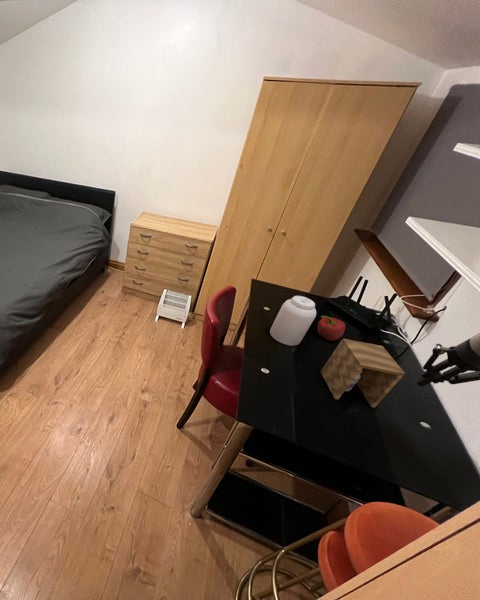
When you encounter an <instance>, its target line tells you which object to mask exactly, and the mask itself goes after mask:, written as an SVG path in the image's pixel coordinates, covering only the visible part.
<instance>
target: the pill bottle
mask: <svg viewBox="0 0 480 600" xmlns="http://www.w3.org/2000/svg"><path fill="white" fill-rule="evenodd" d="M361 373H362V369H361V371H360V372H359V373H358V375H357V376H356V377H355V379H354V380H353V381H352V382H351V384H350V385H349V386H348V388H347V389H346V390H345V391H344V392H350V391H351V390H353V388H354V387H355V385H357V382H358V380H359V379H360V377H361V376H360V374H361Z"/></svg>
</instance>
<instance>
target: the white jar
mask: <svg viewBox="0 0 480 600" xmlns="http://www.w3.org/2000/svg"><path fill="white" fill-rule="evenodd" d="M316 317H317V310H316V303H315V302H314V301H313V300H312V299H310V298H308V297H306V296H302V295H294V296H293V297H291V298H289V299H286V301H284V302H283V304H282V305H281V307H280V309H279V311H278V313H277V315H276V317H275V319H274V321H273V322H272V325H271V327H270V329H269V334H270V336H271V338H273V340H275V341H277V342H278V343H281V344H283V345H286V346H290V347H293V346H294V347H295V346H297V345H300V343H301V342H302V341H303V339H304V337H305V336H306V334H307V332H308V330H309V328H310V327H311V325H312V323H313V321H314V320H315V318H316Z"/></svg>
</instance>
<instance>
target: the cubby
mask: <svg viewBox="0 0 480 600" xmlns="http://www.w3.org/2000/svg"><path fill="white" fill-rule="evenodd" d="M361 369H362V373H361V374H360V376H361V377H360V379H359V380H358V382H357V383H356V385H357V388H358V389H359V390H360V391H361V393H362V395H363V396H364V398H365V399H366V401H367V403H368V404H369V406H370V407H371V408H374V409H375V408H376V407H377V406H378V405H379V404H380V403H381V401H383V399H384V398H385V397H386V396H387V395H388V393H390V392H391V391H392V389H393V388H394V387H395V386H396V384H398V382H399V381H400V380H401V379H402V378H403V377H404V376H405V375H406V372H405V371H404V370H403V369H402V367H400V365H399V364H398V363H397V362H396V360H395V359H394V358H393V357H392V356H391V354H390V353H389V351H388V350H387V349H386V348H385V347H384V346H383V345H378V344H374V343H369V342H364V341H357V340H352V339H348V338H342V339H341V341H340V342H339V344H338V345H337V347H336V348H335V349H334V351H333V352H332V354H331V355H330V357H329V358H328V359H327V361H326V362H325V364H324V365H323V367H322V368H321V370H320V373H321V376H322V377H323V379H324V382H325V383H326V385H327V387H328V389H329V391H330V392H331V395H332V397H333V398H334V400H339V399H340V398H341V397H342V395H343V394H344V393H345V392H346V391H345V390H346V389H347V388H348V386H349V385H350V384H351V382H352V381H353V380H354V379H355V377H356V376H357V375H358V373H359V372H360V371H361Z"/></svg>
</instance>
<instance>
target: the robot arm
mask: <svg viewBox="0 0 480 600" xmlns="http://www.w3.org/2000/svg"><path fill="white" fill-rule="evenodd" d="M431 351H432V354H431V355H430V356H429V358H428V359H427V360H426V362H425V363H424V365H423V366H422V369H423V370H424V371H423V372H422V374H421V375H420V377H419V378H418V380H417V382H415V383H416V385H418V386H419V387H421V388H422V387H425V386H427V385H430V384H431V383H433V384H435V385H437V384H439V383H441V384H444V382H448V384H449V385H459V384H464V383H470V382H478V381H480V332H479V333H477V334H475V335H473V336H472V337H469V338H468V339H466V340H464V341H462V342H461V343H458V344H457V345H455V346H453V345H452V346H449V347H445V346H443V345H442V344H441V343H436V344H435V345H434V347H433V349H432V350H431ZM445 353H446V355H447V358H445V359H444V360H441V361H440V362H438V363H436V364H434V363H435V362H436V361H437V360H438V358H439V357H440V356H442V355H444V354H445ZM446 369H447V370H446ZM444 370H445V371H444Z"/></svg>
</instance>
